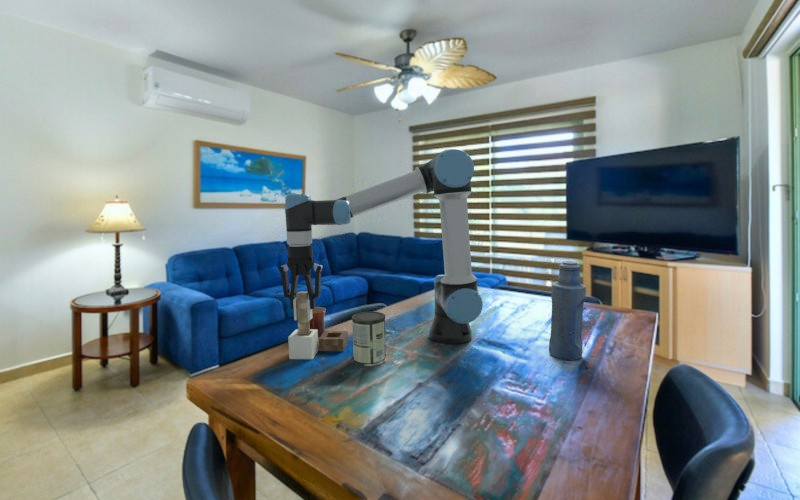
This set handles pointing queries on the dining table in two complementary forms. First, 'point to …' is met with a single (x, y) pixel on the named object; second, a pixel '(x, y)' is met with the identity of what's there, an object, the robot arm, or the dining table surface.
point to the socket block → (333, 341)
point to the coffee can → (369, 338)
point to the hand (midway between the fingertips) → (303, 318)
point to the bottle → (567, 313)
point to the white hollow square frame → (303, 345)
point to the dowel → (302, 314)
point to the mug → (318, 320)
